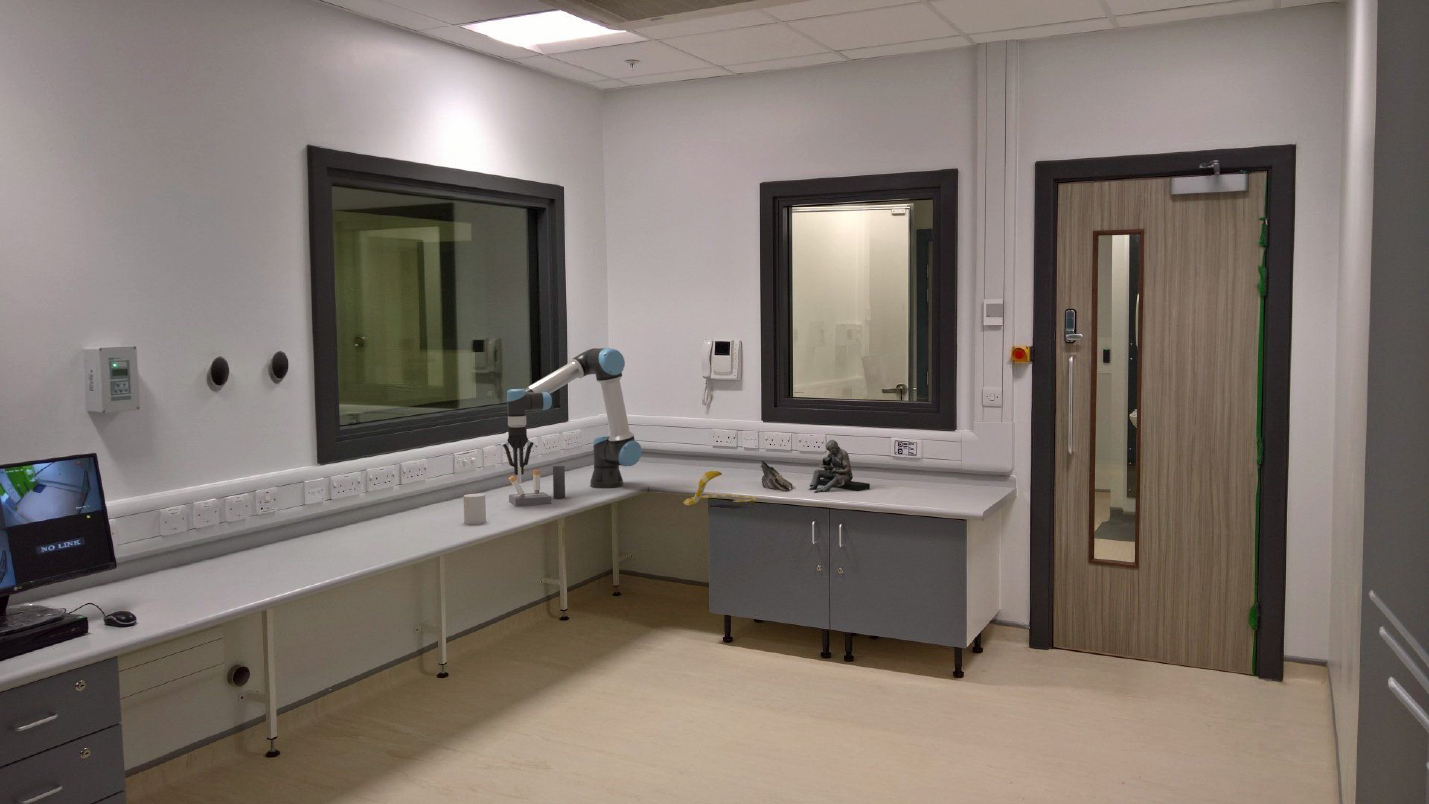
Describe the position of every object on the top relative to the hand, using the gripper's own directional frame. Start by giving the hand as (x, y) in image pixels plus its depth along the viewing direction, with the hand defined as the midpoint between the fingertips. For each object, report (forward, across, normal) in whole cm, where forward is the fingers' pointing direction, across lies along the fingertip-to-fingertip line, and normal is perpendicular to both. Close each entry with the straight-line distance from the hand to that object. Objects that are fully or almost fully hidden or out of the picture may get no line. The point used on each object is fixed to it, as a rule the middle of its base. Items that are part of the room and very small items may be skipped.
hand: (519, 482), depth 418 cm
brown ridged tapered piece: (+4, -103, +21) cm, 106 cm away
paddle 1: (+5, -1, 0) cm, 6 cm away
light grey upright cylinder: (+12, +23, +25) cm, 36 cm away
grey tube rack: (+10, -5, -4) cm, 12 cm away
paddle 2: (+6, -9, -8) cm, 13 cm away
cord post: (+10, -19, -9) cm, 23 cm away
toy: (+11, -76, +33) cm, 84 cm away
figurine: (+12, -132, +30) cm, 135 cm away
